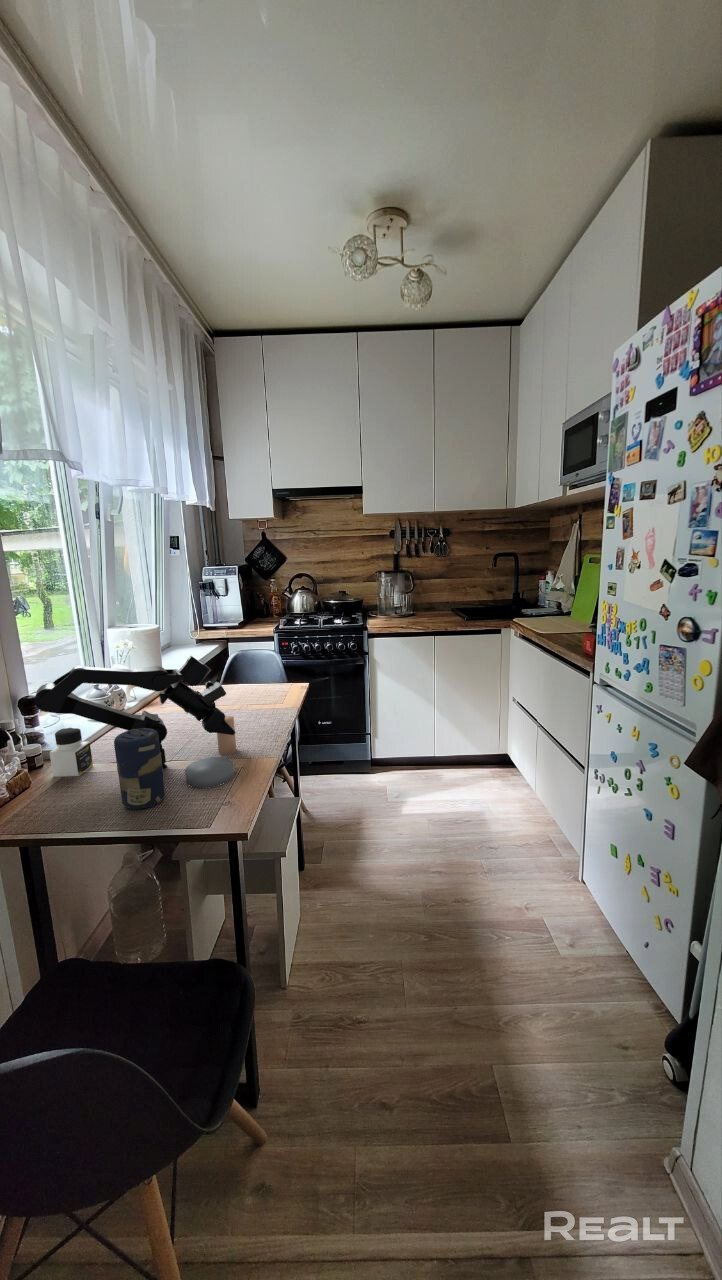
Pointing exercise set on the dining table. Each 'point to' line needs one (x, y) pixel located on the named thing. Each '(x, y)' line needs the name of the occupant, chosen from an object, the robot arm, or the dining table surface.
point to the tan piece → (227, 739)
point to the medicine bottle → (70, 753)
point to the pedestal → (209, 772)
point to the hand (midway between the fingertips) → (230, 728)
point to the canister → (139, 768)
